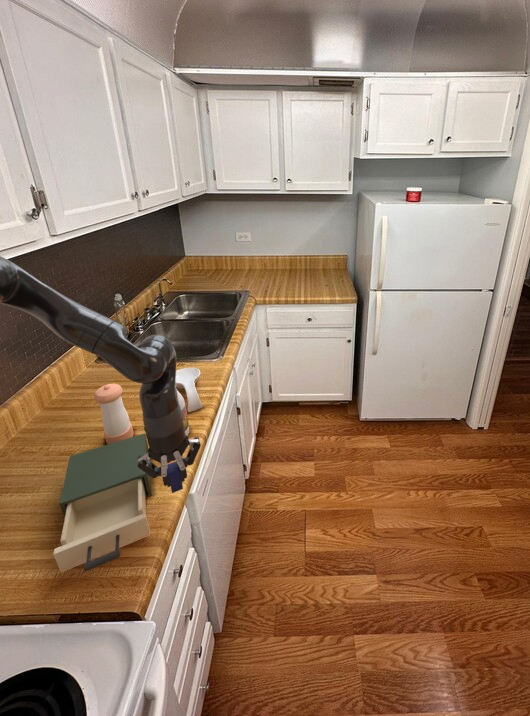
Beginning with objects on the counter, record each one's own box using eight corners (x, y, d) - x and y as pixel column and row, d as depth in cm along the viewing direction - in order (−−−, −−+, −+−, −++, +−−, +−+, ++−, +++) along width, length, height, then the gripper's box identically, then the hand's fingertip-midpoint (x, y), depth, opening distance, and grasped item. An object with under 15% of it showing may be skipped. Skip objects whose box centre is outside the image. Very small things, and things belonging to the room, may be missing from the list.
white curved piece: (166, 380, 128) (163, 364, 126) (197, 371, 134) (195, 356, 132) (178, 417, 110) (175, 399, 107) (213, 405, 116) (211, 388, 113)
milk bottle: (163, 447, 98) (151, 392, 91) (163, 429, 105) (152, 376, 97) (190, 439, 101) (181, 385, 94) (188, 422, 108) (180, 370, 100)
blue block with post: (172, 493, 77) (168, 474, 75) (169, 471, 82) (165, 453, 80) (183, 489, 78) (179, 470, 76) (179, 467, 83) (176, 449, 81)
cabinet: (151, 495, 84) (146, 473, 81) (68, 527, 76) (59, 504, 74) (149, 453, 96) (145, 433, 93) (77, 477, 88) (69, 455, 86)
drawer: (151, 555, 70) (146, 537, 68) (56, 598, 63) (48, 579, 61) (148, 486, 85) (144, 469, 83) (71, 514, 78) (65, 497, 76)
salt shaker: (120, 426, 106) (107, 376, 99) (139, 431, 104) (127, 380, 97) (100, 443, 99) (85, 390, 92) (119, 449, 97) (105, 396, 90)
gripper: (195, 403, 78) (203, 458, 84) (128, 422, 72) (142, 480, 78) (200, 424, 71) (209, 482, 78) (127, 447, 66) (143, 508, 72)
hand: (175, 481), depth 78 cm, fingers closed on blue block with post, 2 cm apart
